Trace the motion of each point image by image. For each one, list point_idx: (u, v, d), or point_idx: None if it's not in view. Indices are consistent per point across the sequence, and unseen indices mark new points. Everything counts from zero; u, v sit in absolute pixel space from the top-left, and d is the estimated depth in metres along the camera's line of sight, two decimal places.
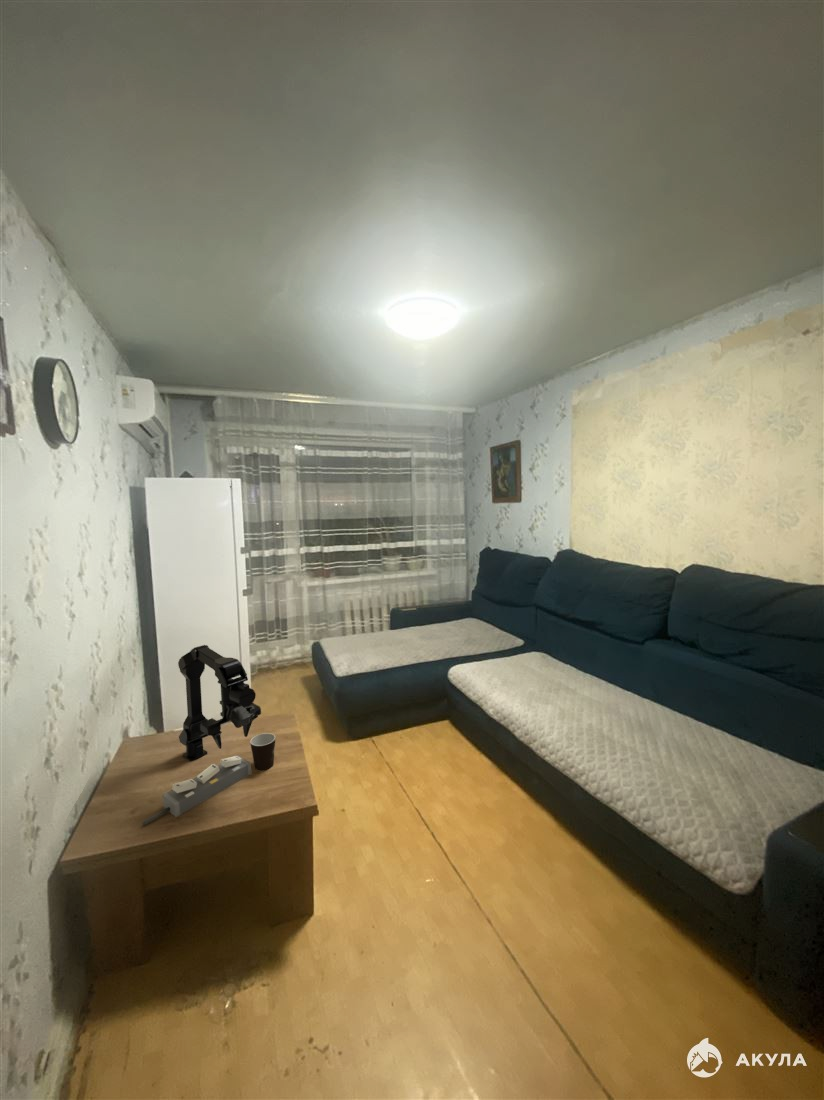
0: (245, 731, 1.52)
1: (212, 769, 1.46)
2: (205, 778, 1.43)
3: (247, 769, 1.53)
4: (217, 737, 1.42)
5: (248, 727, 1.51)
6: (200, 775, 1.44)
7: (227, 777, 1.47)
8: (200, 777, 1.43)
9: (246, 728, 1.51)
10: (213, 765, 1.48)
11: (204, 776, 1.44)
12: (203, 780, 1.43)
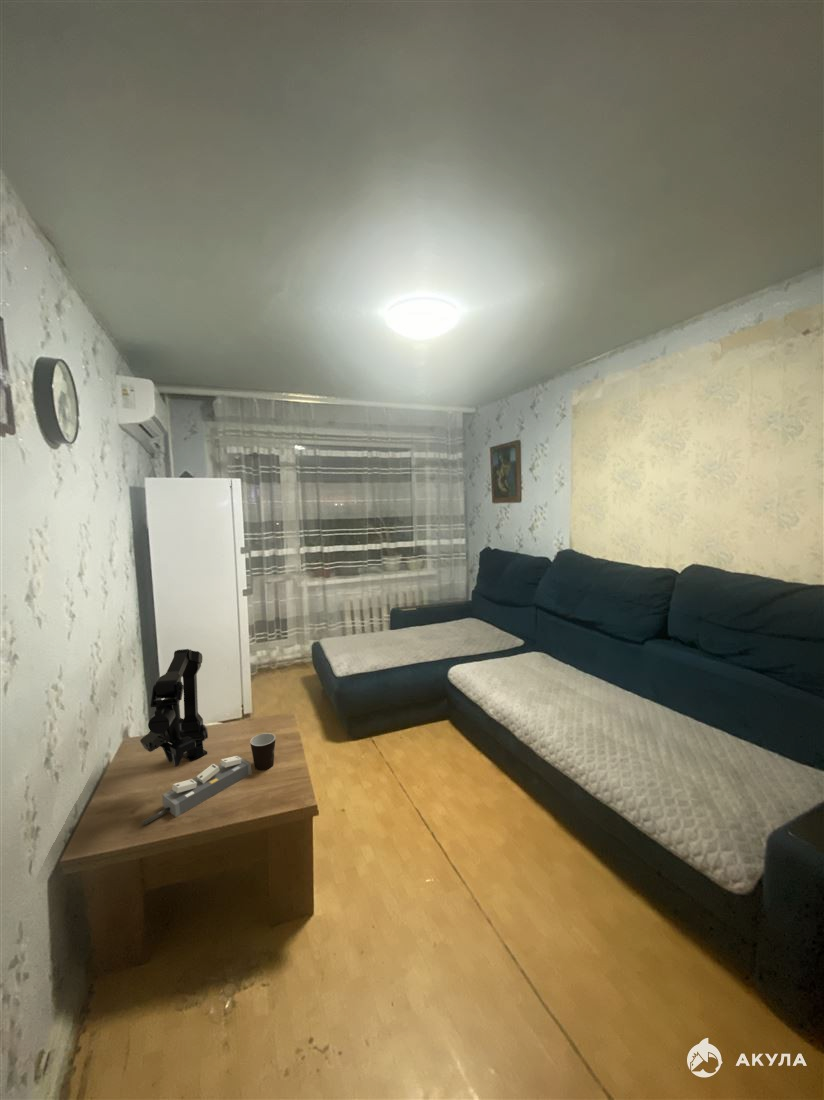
0: None
1: (212, 769, 1.46)
2: (205, 778, 1.43)
3: (247, 769, 1.53)
4: (163, 748, 1.42)
5: (173, 757, 1.40)
6: (200, 775, 1.44)
7: (227, 777, 1.47)
8: (200, 777, 1.43)
9: None
10: (213, 765, 1.48)
11: (204, 776, 1.44)
12: (203, 780, 1.43)
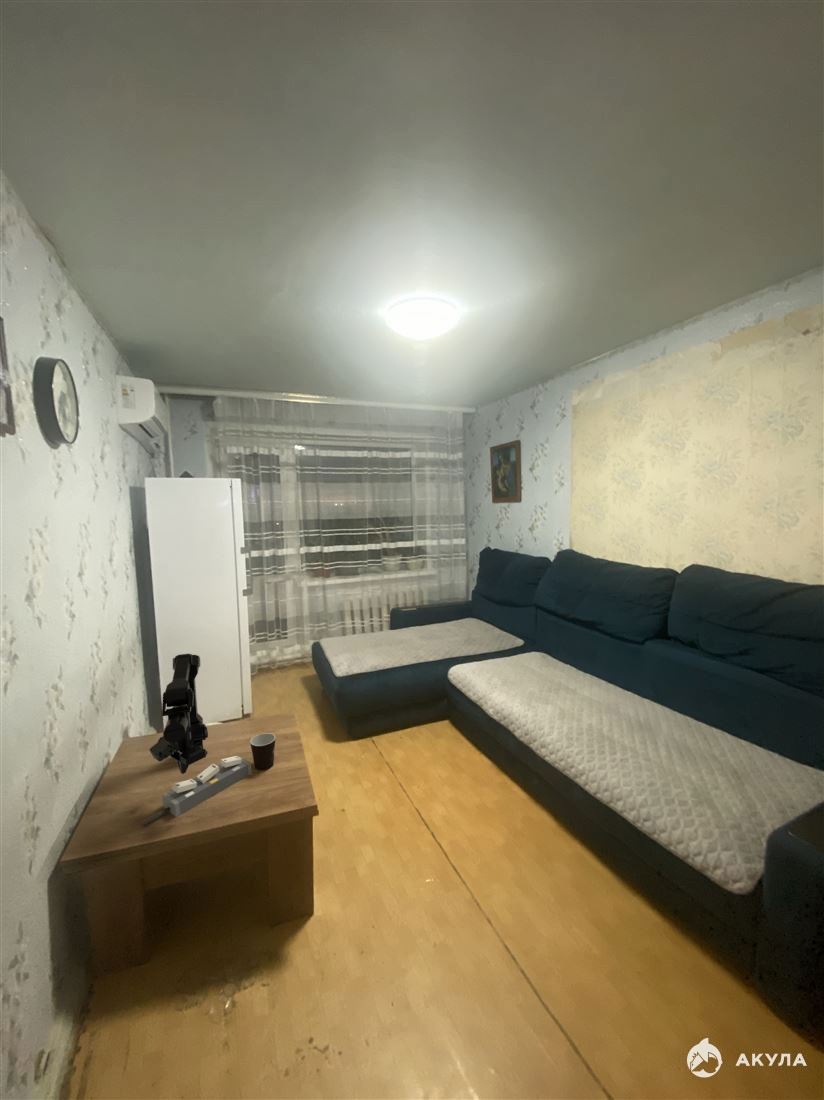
0: None
1: (212, 769, 1.46)
2: (205, 778, 1.43)
3: (247, 769, 1.53)
4: (175, 759, 1.38)
5: (180, 764, 1.37)
6: (200, 775, 1.44)
7: (227, 777, 1.47)
8: (200, 777, 1.43)
9: None
10: (213, 765, 1.48)
11: (204, 776, 1.44)
12: (203, 780, 1.43)
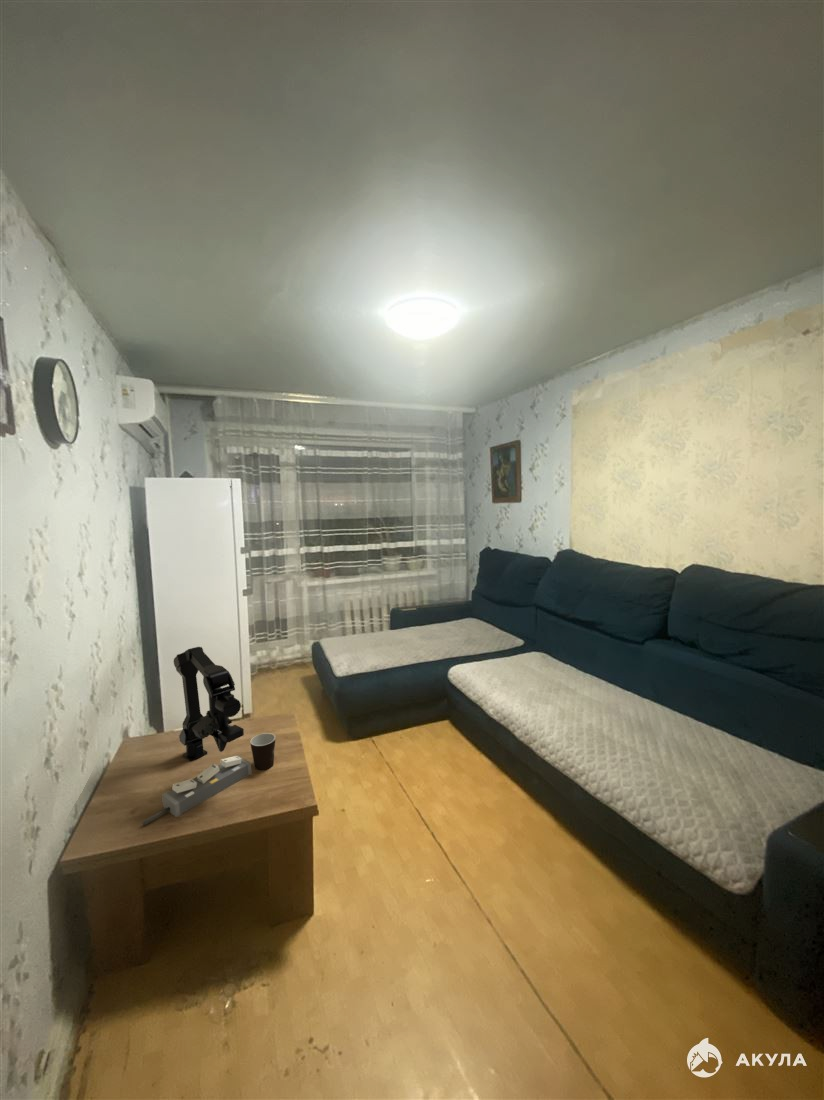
0: None
1: (212, 769, 1.46)
2: (205, 778, 1.43)
3: (247, 769, 1.53)
4: (214, 738, 1.48)
5: (219, 742, 1.48)
6: (200, 775, 1.44)
7: (227, 777, 1.47)
8: (200, 777, 1.43)
9: None
10: (213, 765, 1.48)
11: (204, 776, 1.44)
12: (203, 780, 1.43)
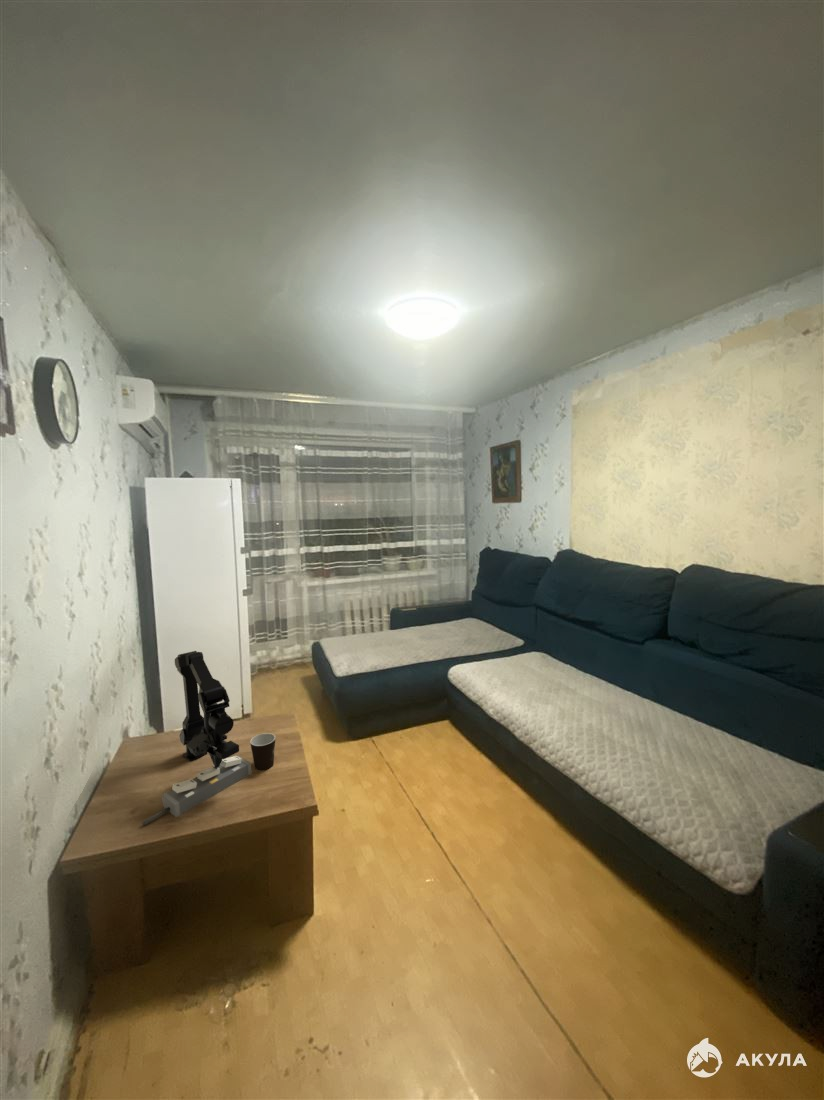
0: None
1: (214, 770, 1.46)
2: (205, 776, 1.43)
3: (247, 769, 1.53)
4: (209, 754, 1.47)
5: (214, 758, 1.47)
6: (201, 772, 1.44)
7: (227, 777, 1.47)
8: (201, 774, 1.44)
9: None
10: (214, 767, 1.48)
11: (205, 774, 1.44)
12: (203, 777, 1.43)
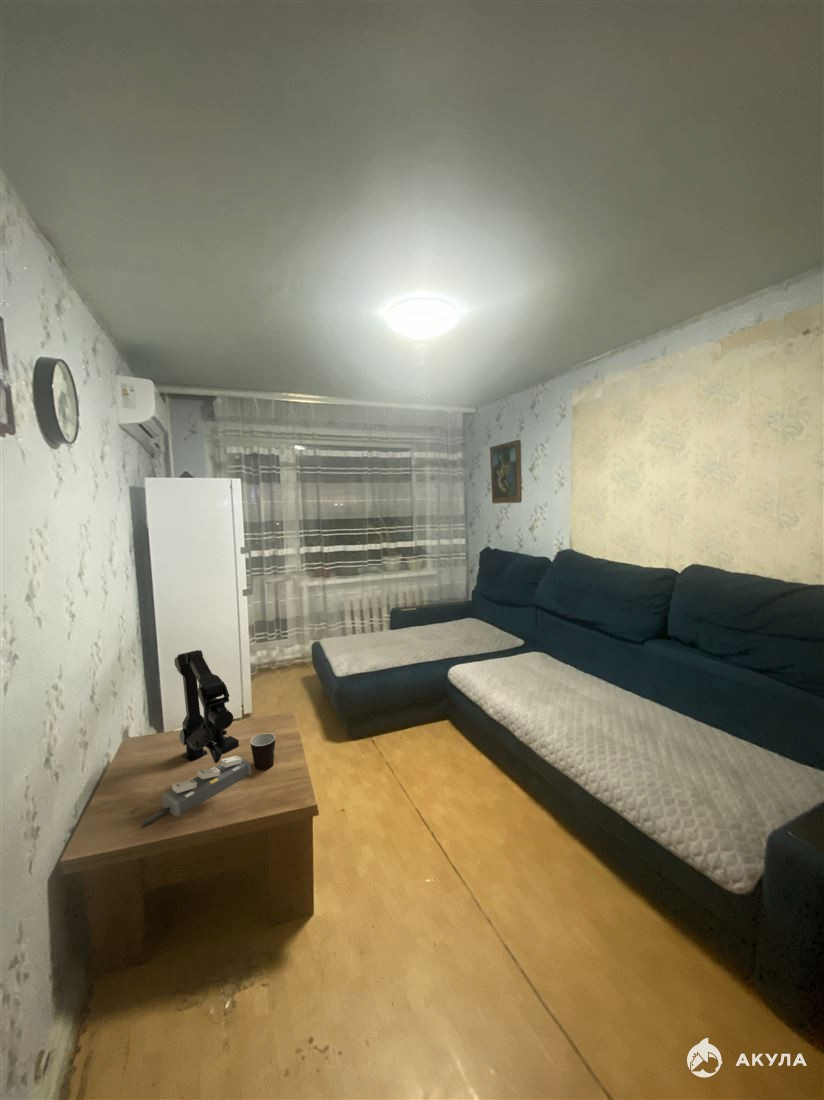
0: None
1: (214, 771, 1.46)
2: (206, 774, 1.43)
3: (247, 769, 1.53)
4: (209, 749, 1.47)
5: (213, 754, 1.46)
6: (202, 771, 1.45)
7: (227, 777, 1.47)
8: (202, 772, 1.44)
9: None
10: (215, 768, 1.48)
11: (206, 772, 1.44)
12: (204, 775, 1.43)
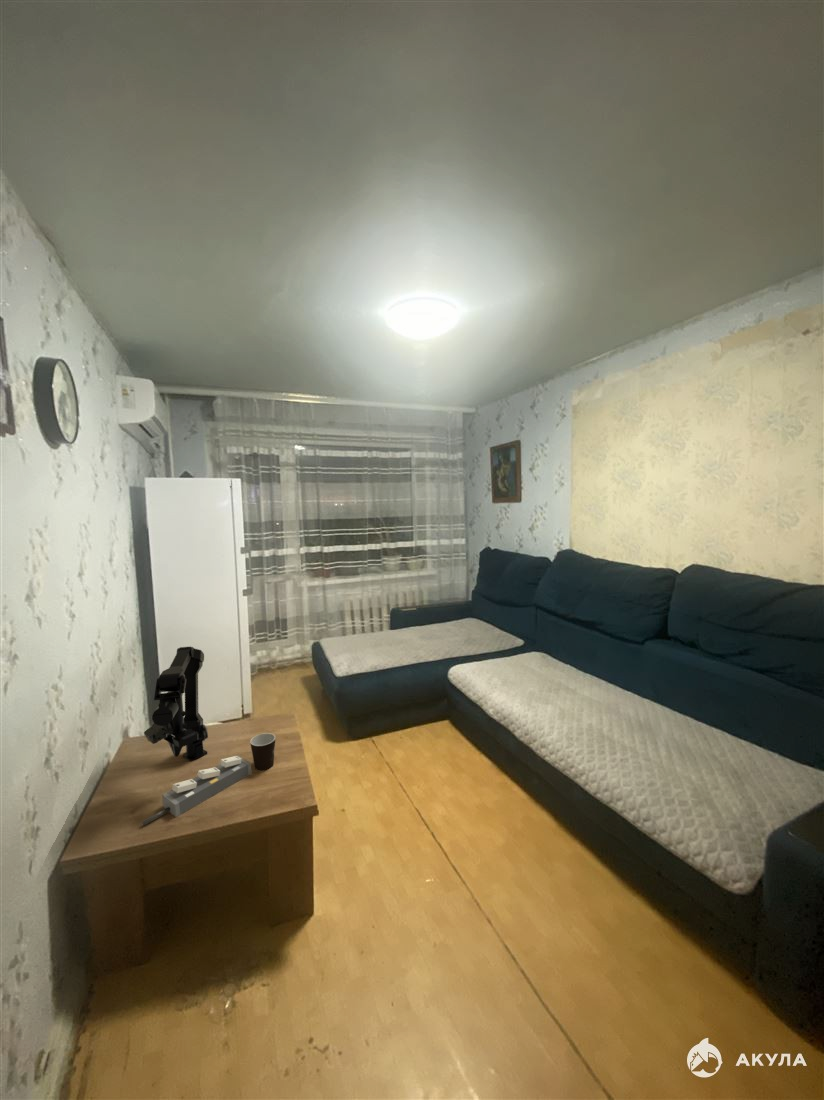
0: None
1: (214, 771, 1.46)
2: (206, 774, 1.43)
3: (247, 769, 1.53)
4: (168, 742, 1.44)
5: (173, 747, 1.43)
6: (202, 771, 1.45)
7: (227, 777, 1.47)
8: (202, 772, 1.44)
9: None
10: (215, 768, 1.48)
11: (206, 772, 1.44)
12: (204, 775, 1.43)
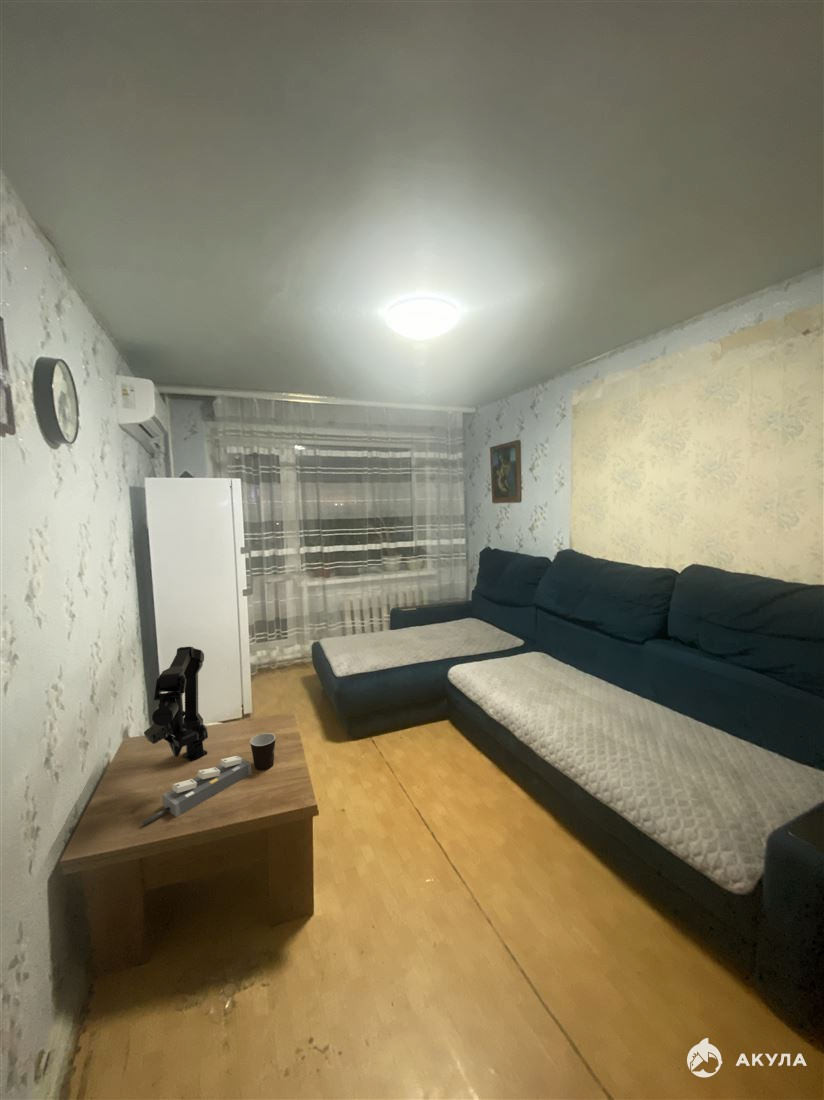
0: None
1: (214, 771, 1.46)
2: (206, 774, 1.43)
3: (247, 769, 1.53)
4: (168, 742, 1.44)
5: (173, 747, 1.43)
6: (202, 771, 1.45)
7: (227, 777, 1.47)
8: (202, 772, 1.44)
9: None
10: (215, 768, 1.48)
11: (206, 772, 1.44)
12: (204, 775, 1.43)
